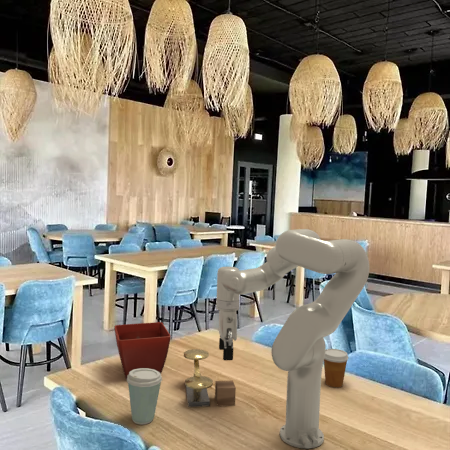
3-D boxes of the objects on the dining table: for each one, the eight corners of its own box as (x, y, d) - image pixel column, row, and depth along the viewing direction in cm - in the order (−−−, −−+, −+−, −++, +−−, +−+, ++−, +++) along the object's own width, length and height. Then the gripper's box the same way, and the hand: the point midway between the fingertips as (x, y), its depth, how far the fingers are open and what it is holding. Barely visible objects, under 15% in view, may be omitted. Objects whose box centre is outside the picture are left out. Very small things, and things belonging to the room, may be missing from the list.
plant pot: (117, 385, 159) (118, 339, 158) (113, 366, 177) (114, 324, 176) (170, 380, 165) (171, 336, 164) (161, 362, 183) (162, 321, 182)
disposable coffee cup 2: (318, 385, 164) (319, 354, 164) (324, 376, 173) (326, 346, 172) (343, 391, 160) (345, 359, 159) (349, 382, 168) (351, 351, 168)
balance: (213, 409, 143) (214, 373, 143) (185, 410, 142) (186, 374, 141) (206, 380, 166) (207, 349, 165) (182, 381, 165) (183, 349, 164)
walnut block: (235, 405, 147) (235, 387, 146) (217, 406, 146) (217, 388, 146) (232, 397, 153) (232, 380, 152) (214, 398, 152) (215, 380, 152)
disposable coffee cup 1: (142, 408, 143) (143, 362, 142) (168, 417, 137) (169, 370, 136) (118, 421, 134) (119, 373, 133) (145, 432, 128) (146, 382, 127)
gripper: (243, 311, 139) (241, 364, 140) (234, 298, 156) (232, 345, 157) (219, 311, 138) (218, 364, 139) (213, 298, 155) (211, 346, 156)
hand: (225, 354), depth 148 cm, fingers open, 9 cm apart
